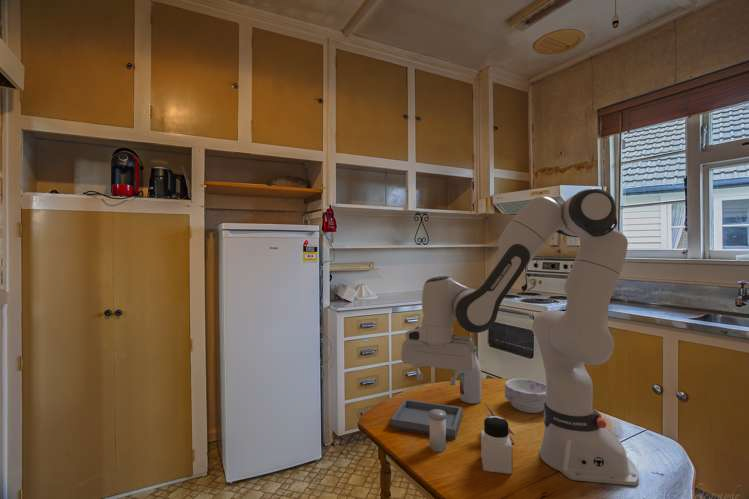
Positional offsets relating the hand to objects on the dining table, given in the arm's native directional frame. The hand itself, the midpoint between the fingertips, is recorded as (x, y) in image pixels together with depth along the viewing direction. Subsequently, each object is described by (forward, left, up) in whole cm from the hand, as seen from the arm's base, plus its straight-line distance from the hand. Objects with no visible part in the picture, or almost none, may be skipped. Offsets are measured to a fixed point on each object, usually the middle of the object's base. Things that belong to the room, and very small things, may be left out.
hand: (436, 382), depth 107 cm
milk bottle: (-5, -36, -19) cm, 41 cm away
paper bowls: (-25, -37, -19) cm, 48 cm away
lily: (-16, -10, -19) cm, 27 cm away
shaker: (0, 0, -19) cm, 19 cm away
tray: (+6, -14, -19) cm, 24 cm away
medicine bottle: (-16, +3, -19) cm, 25 cm away
